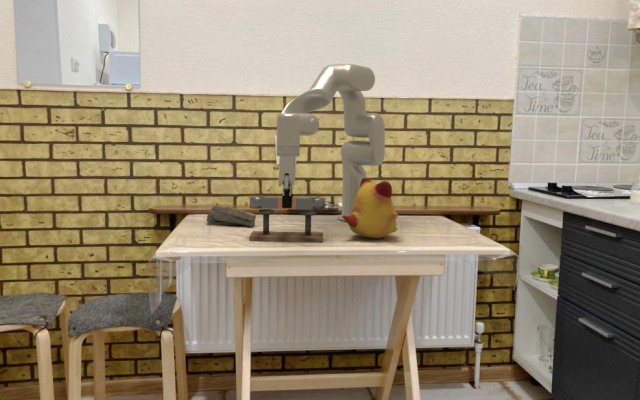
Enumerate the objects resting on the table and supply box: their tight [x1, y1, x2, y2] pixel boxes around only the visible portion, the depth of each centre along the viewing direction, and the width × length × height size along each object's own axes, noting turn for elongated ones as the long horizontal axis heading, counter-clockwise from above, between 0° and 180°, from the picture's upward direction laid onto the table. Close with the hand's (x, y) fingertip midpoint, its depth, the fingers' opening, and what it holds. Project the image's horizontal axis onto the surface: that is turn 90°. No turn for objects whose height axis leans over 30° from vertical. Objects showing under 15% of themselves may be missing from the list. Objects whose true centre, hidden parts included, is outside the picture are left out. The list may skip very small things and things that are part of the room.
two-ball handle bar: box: [249, 195, 326, 211], centre depth 190 cm, size 25×5×4 cm, turn 89°
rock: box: [205, 205, 257, 228], centre depth 215 cm, size 11×18×10 cm, turn 81°
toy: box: [342, 177, 399, 239], centre depth 194 cm, size 20×21×20 cm
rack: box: [248, 209, 324, 243], centre depth 191 cm, size 24×9×10 cm, turn 89°
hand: (287, 206), depth 191 cm, fingers closed on two-ball handle bar, 4 cm apart
